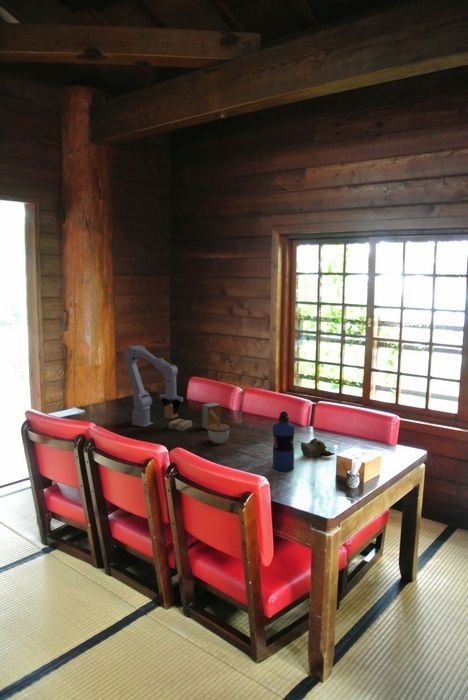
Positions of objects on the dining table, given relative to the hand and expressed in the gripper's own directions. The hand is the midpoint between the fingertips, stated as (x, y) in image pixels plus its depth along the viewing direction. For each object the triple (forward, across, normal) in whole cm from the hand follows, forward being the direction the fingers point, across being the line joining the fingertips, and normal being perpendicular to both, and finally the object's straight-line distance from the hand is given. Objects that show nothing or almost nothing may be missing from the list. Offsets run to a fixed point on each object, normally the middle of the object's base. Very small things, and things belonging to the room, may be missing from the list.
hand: (171, 412), depth 284 cm
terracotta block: (+2, 0, 0) cm, 2 cm away
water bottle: (+10, +76, -20) cm, 80 cm away
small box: (+9, +17, +13) cm, 23 cm away
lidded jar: (+9, +33, -5) cm, 35 cm away
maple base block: (+9, +2, +5) cm, 11 cm away
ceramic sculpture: (+10, +82, +2) cm, 83 cm away
